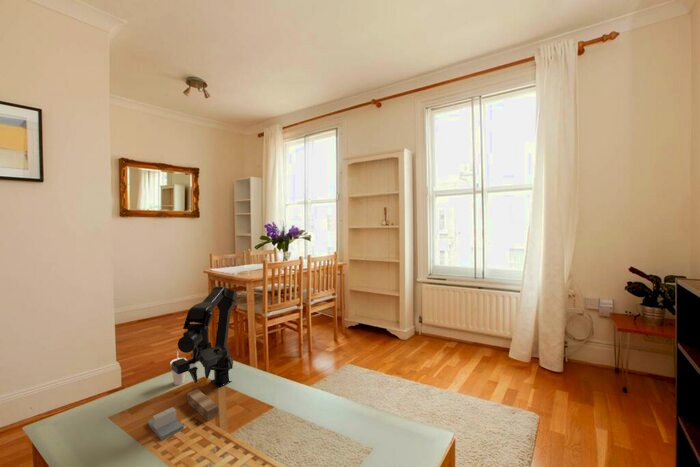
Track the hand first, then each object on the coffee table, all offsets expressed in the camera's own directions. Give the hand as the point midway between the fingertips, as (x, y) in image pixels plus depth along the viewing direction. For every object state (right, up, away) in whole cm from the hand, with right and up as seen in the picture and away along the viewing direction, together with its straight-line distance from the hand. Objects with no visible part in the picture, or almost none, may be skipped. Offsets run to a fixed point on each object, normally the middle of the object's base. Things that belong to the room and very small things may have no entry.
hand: (201, 380), depth 119 cm
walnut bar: (0, -11, +1) cm, 11 cm away
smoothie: (-18, -9, +18) cm, 27 cm away
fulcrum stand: (-8, -12, -9) cm, 17 cm away
